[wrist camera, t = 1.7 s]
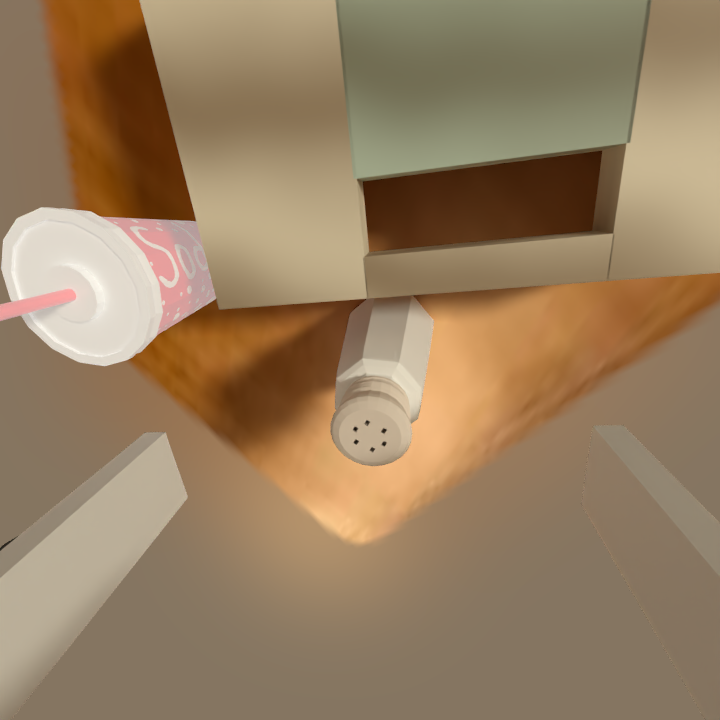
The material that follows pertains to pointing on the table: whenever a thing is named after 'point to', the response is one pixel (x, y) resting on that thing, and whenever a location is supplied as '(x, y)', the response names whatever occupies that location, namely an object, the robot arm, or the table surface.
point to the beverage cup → (102, 280)
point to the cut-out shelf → (322, 217)
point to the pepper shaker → (381, 379)
